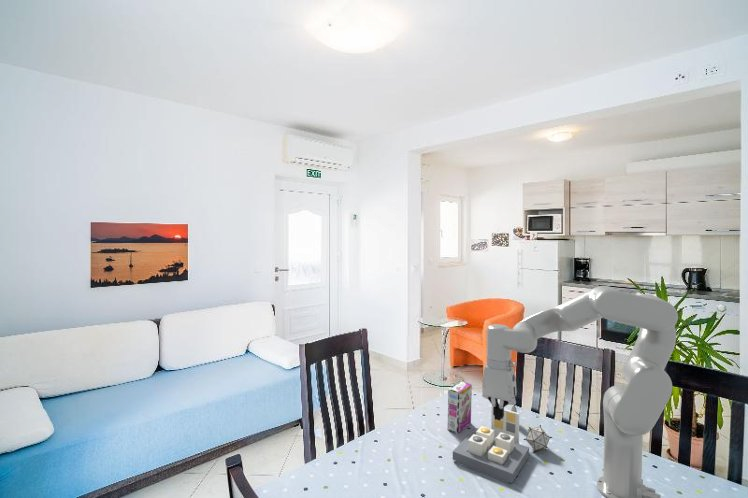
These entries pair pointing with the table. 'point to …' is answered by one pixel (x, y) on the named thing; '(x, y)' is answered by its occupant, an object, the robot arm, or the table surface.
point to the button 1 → (486, 435)
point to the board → (491, 467)
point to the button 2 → (477, 445)
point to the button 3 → (505, 442)
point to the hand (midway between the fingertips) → (498, 418)
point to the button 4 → (498, 455)
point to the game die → (537, 438)
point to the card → (506, 424)
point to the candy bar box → (459, 407)
